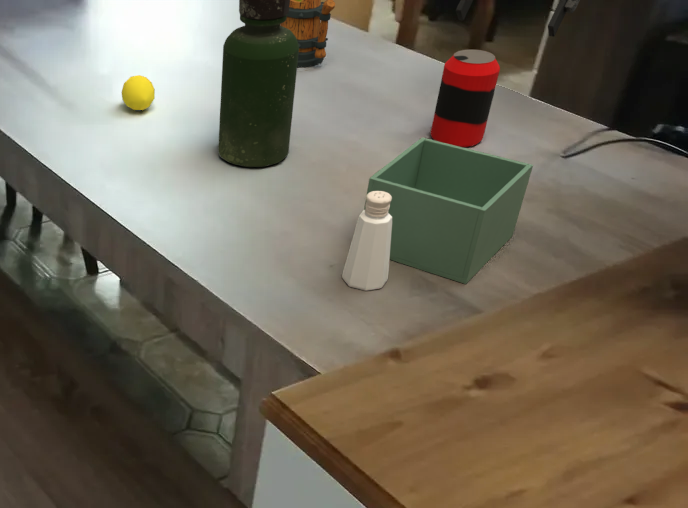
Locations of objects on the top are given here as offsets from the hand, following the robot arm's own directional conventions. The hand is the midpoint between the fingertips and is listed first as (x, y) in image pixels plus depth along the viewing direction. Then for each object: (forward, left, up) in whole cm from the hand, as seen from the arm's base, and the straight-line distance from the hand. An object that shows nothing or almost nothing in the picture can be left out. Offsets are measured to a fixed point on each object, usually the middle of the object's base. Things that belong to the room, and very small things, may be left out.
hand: (503, 23), depth 136 cm
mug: (+36, -6, -14) cm, 39 cm away
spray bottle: (+22, +32, -14) cm, 41 cm away
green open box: (-11, +41, -14) cm, 44 cm away
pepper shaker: (-8, +54, -14) cm, 56 cm away
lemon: (+47, +28, -14) cm, 56 cm away
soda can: (0, +10, -14) cm, 17 cm away
